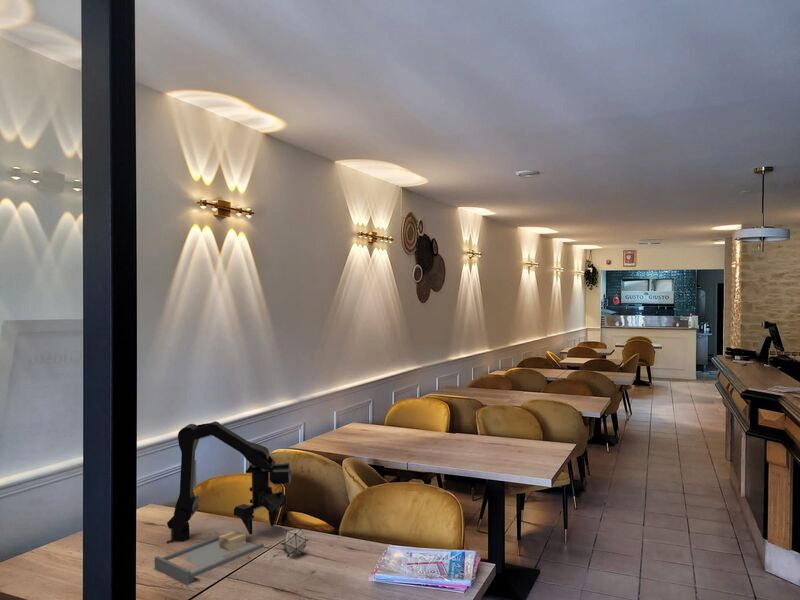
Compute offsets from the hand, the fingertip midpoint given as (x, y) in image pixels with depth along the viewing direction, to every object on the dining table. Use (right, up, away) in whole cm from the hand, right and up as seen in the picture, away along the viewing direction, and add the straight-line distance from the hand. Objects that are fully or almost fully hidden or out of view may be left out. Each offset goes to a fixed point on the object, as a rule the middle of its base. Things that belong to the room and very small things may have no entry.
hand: (261, 529), depth 203 cm
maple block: (-7, -2, -9) cm, 12 cm away
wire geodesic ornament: (+14, -3, -13) cm, 19 cm away
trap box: (-12, -3, -16) cm, 20 cm away
